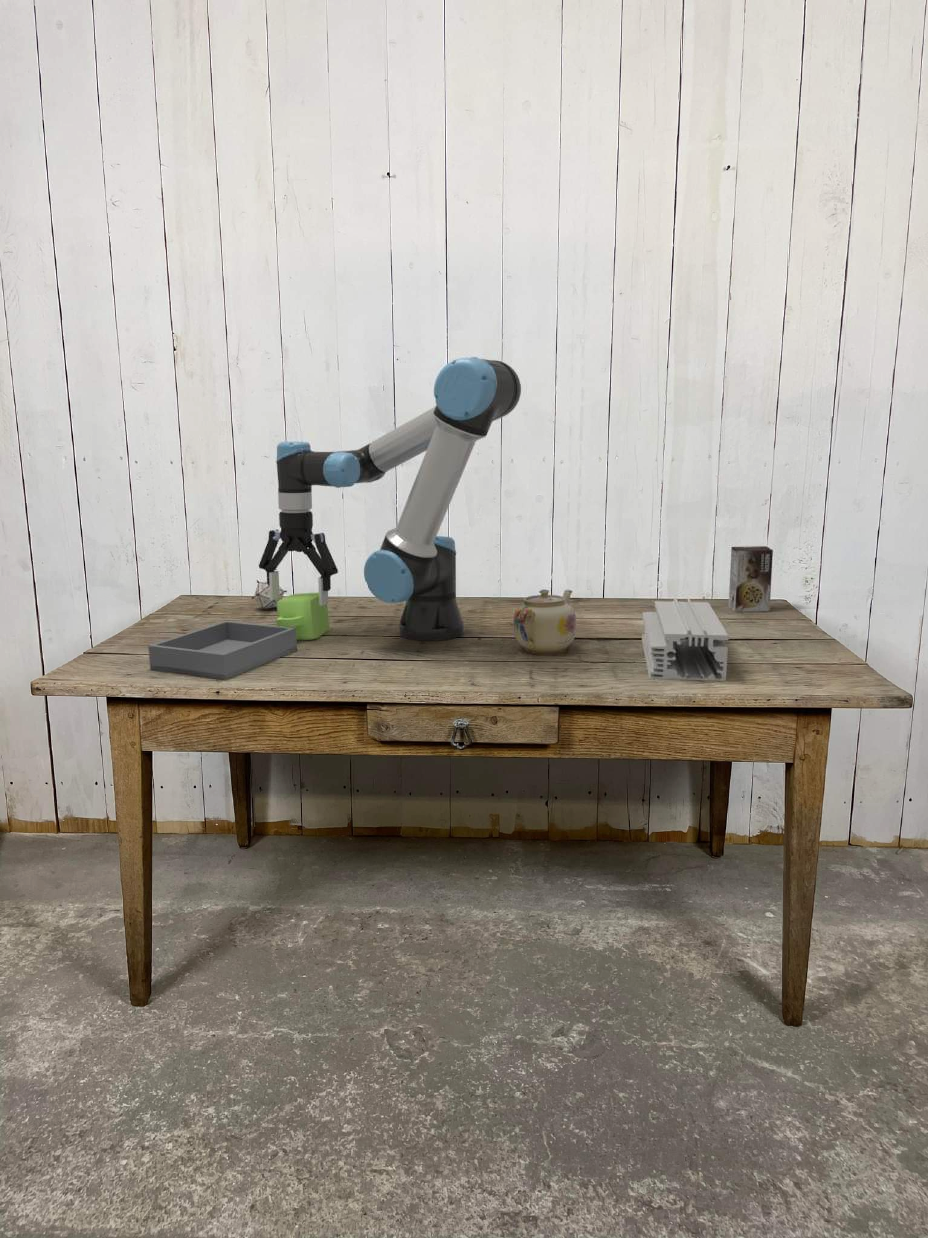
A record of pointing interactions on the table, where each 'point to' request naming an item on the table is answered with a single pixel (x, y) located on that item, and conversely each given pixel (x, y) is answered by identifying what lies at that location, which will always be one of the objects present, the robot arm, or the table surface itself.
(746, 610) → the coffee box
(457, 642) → the table surface
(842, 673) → the table surface
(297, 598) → the green handled block
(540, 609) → the teapot
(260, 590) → the game die
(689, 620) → the aluminum extrusion profile
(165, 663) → the gray tray
